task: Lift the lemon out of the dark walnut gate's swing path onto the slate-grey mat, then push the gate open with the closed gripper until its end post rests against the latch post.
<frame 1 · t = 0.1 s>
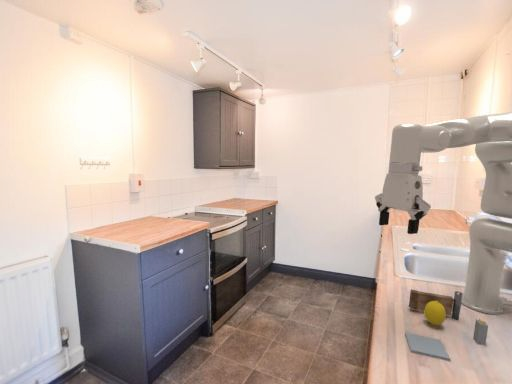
hand: (397, 228, 78), 31 cm above the countertop, tool pointing down, fingers open, 9 cm apart
gatepost: (455, 318, 89), on the countertop
lemon: (433, 325, 85), on the countertop
gate: (430, 302, 91), point 4 cm above the countertop, hinge at 0.0°
mat: (426, 346, 75), on the countertop
latch post: (479, 342, 78), on the countertop
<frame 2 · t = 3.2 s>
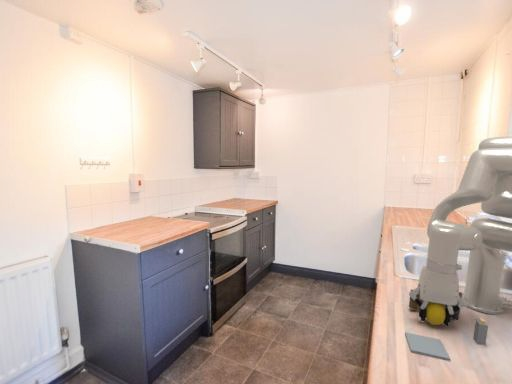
hand: (433, 321, 85), 1 cm above the countertop, tool pointing down, fingers closed on lemon, 5 cm apart
lemon: (433, 325, 85), on the countertop, touching gripper
everything else where it was.
when the fingers open (3 cm above the countertop, at t = 8.9 s): lemon drops 1 cm, resting on mat.
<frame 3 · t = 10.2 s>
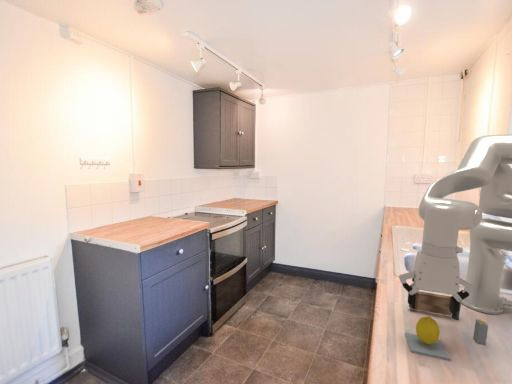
hand: (431, 309, 74), 11 cm above the countertop, tool pointing down, fingers open, 9 cm apart
lemon: (425, 344, 75), resting on mat
everything else where it was.
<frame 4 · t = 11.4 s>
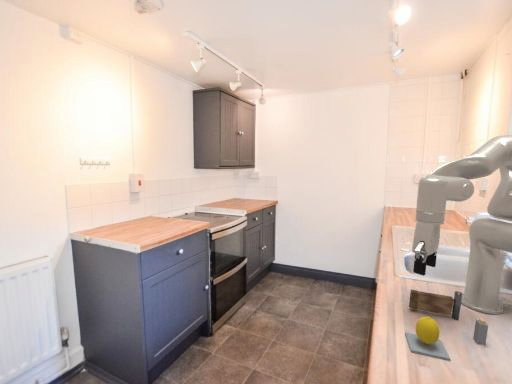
hand: (424, 269, 87), 17 cm above the countertop, tool pointing down, fingers open, 9 cm apart
nothing on the countertop moved.
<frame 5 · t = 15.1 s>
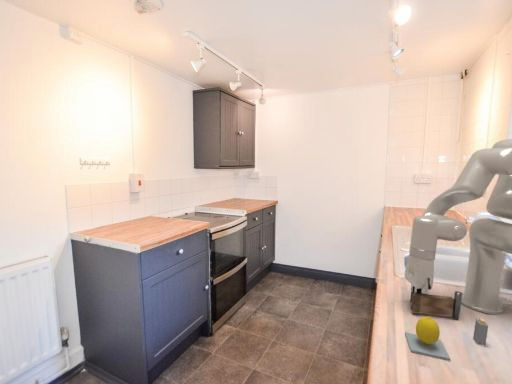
hand: (415, 303, 94), 2 cm above the countertop, tool pointing down, fingers closed
gate: (432, 304, 90), point 4 cm above the countertop, hinge at 9.4°, touching gripper
everything else where it was.
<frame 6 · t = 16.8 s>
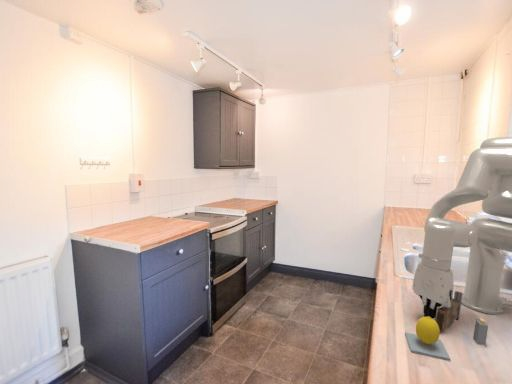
hand: (429, 317, 86), 2 cm above the countertop, tool pointing down, fingers closed
gate: (447, 314, 84), point 4 cm above the countertop, hinge at 54.9°, touching gripper
everything else where it was.
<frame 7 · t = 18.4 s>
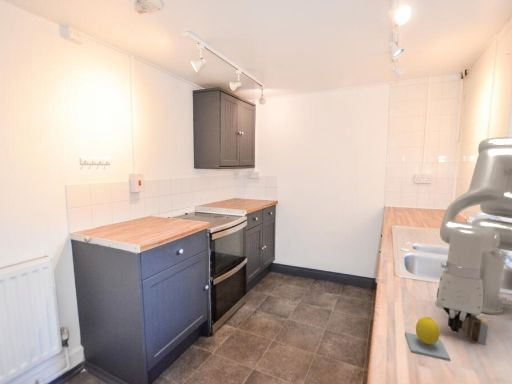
hand: (453, 329, 80), 2 cm above the countertop, tool pointing down, fingers closed
gate: (466, 319, 82), point 4 cm above the countertop, hinge at 90.9°, touching gripper, latch post
everything else where it was.
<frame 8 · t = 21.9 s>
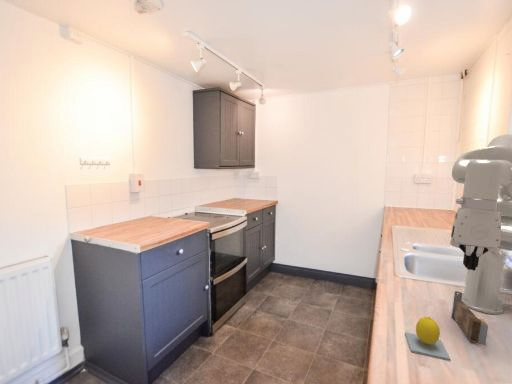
hand: (469, 268, 77), 21 cm above the countertop, tool pointing down, fingers closed
gate: (466, 319, 82), point 4 cm above the countertop, hinge at 90.9°, touching latch post
everything else where it was.
at the end: gate at +91° (first picture: +0°); lemon inside the target area on the mat (0.2 cm from its centre), point 0.4 cm above the mat's base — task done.
